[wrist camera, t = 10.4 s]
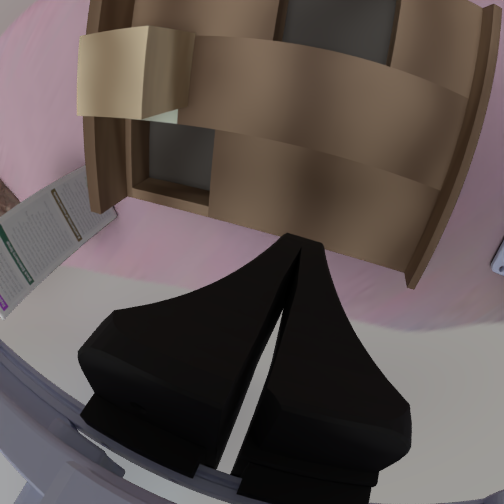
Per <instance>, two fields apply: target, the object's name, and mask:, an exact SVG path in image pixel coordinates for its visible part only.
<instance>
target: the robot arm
mask: <svg viewBox="0 0 504 504" xmlns="http://www.w3.org/2000/svg"><path fill="white" fill-rule="evenodd" d="M501 266H502V268H500V267H501ZM499 268H500V269H499ZM491 269H492V271H493V272H495V273H498V274H500V275H503V276H504V240H503V242H502V244H501V246H500V248H499V250H498V252H497V254H496V256H495V258H494V259H493V261H492V263H491ZM282 310H283V313H282V318H281V323H280V327H279V332H278V337H277V341H276V345H275V349H274V354H273V358H272V362H271V366H270V369H269V372H268V376H267V378H266V381H265V384H264V387H263V390H262V392H261V395H260V398H259V401H258V404H257V406H256V409H255V412H254V415H253V417H252V420H251V423H250V425H249V428H248V431H247V433H246V436H245V438H244V441H243V444H242V446H241V449H240V451H239V454H238V456H237V459H236V461H235V464H234V467H233V469H232V471H231V474H230V475H229V474H226V473H224V472H221V471H218V470H216V469H217V467H218V464H219V462H220V460H221V457H222V455H223V452H224V450H225V447H226V444H227V442H228V439H229V437H230V434H231V432H232V429H233V427H234V424H235V422H236V419H237V416H238V414H239V411H240V409H241V406H242V403H243V401H244V398H245V395H246V393H247V390H248V388H249V385H250V382H251V380H252V377H253V374H254V371H255V369H256V366H257V364H258V361H259V359H260V357H261V355H262V353H263V351H264V349H265V346H266V344H267V342H268V340H269V338H270V336H271V334H272V332H273V329H274V327H275V325H276V323H277V321H278V319H279V317H280V314H281V312H282ZM78 361H79V364H80V366H81V369H82V371H83V372H84V375H85V376H86V378H87V380H88V382H89V383H90V385H91V387H92V389H93V390H94V392H95V393H94V394H93V396H92V397H91V399H90V400H89V402H88V403H87V405H86V406H85V405H84V404H82V403H81V402H79V401H77V400H76V399H75V398H73V397H72V396H70V395H68V394H67V393H66V392H64V391H63V390H62V389H60V388H59V387H57V386H56V385H55V384H53V383H52V382H51V381H49V380H48V379H47V378H45V377H44V376H43V375H42V374H40V373H39V372H38V371H36V370H35V369H34V368H33V367H31V366H30V365H29V364H28V363H26V362H25V361H24V360H23V359H22V358H21V357H20V356H18V355H17V354H16V353H15V352H14V351H13V350H12V349H10V348H9V347H8V346H7V345H6V344H5V343H4V342H3V341H2V340H1V339H0V451H1V453H2V454H3V455H4V457H5V458H6V459H7V460H8V461H9V462H10V463H11V465H12V466H13V467H14V468H15V469H16V470H17V471H18V472H19V473H20V474H21V475H22V476H23V477H24V478H25V479H26V480H27V483H26V484H25V486H24V487H23V489H22V491H21V493H20V494H19V496H18V498H17V499H16V501H15V502H14V504H176V503H174V502H171V501H169V500H167V499H165V498H162V497H160V496H158V495H156V494H153V493H151V492H149V491H147V490H145V489H143V488H141V487H139V486H137V485H135V484H133V483H131V482H129V481H127V480H125V479H123V476H124V474H125V470H124V469H123V468H122V467H120V466H119V465H117V464H116V463H115V462H113V460H111V459H110V458H109V457H108V456H107V455H106V453H105V451H104V450H102V449H100V448H99V447H98V446H96V445H95V444H93V443H92V442H91V441H89V440H88V439H87V438H85V437H84V436H83V435H81V434H80V433H79V432H78V430H79V431H81V432H82V433H84V434H85V435H87V436H88V437H90V438H91V439H93V440H94V441H96V442H98V443H99V444H101V445H102V446H104V447H106V448H107V449H109V450H111V451H113V452H114V453H116V454H118V455H120V456H121V457H123V458H125V459H127V460H129V461H130V462H132V463H134V464H136V465H138V466H140V467H142V468H144V469H146V470H148V471H150V472H152V473H154V474H156V475H159V476H161V477H163V478H165V479H167V480H169V481H172V482H174V483H177V484H179V485H181V486H184V487H186V488H189V489H191V490H194V491H196V492H199V493H202V494H204V495H207V496H210V497H213V498H216V499H219V500H221V501H225V502H228V503H231V504H377V503H369V498H370V492H371V487H374V486H376V484H377V482H378V475H379V471H381V470H383V469H384V468H386V467H388V466H390V465H392V464H394V463H395V462H397V461H399V460H400V459H401V458H402V457H404V456H405V455H406V454H407V453H408V452H409V450H410V448H411V433H412V422H411V415H410V414H411V413H410V405H409V403H408V402H407V401H406V400H405V399H404V398H403V397H402V396H401V394H400V393H399V392H398V391H397V390H396V389H395V388H394V386H393V385H392V384H391V383H390V382H389V381H388V380H387V378H386V377H385V376H384V374H383V373H382V372H381V371H380V369H379V368H378V367H377V366H376V364H375V363H374V361H373V360H372V358H371V357H370V355H369V354H368V352H367V351H366V349H365V348H364V346H363V345H362V343H361V341H360V340H359V338H358V337H357V335H356V333H355V332H354V330H353V328H352V326H351V324H350V322H349V320H348V318H347V316H346V314H345V312H344V309H343V307H342V305H341V302H340V300H339V297H338V295H337V292H336V290H335V287H334V284H333V281H332V278H331V275H330V271H329V268H328V264H327V260H326V255H325V249H324V245H323V244H322V243H321V242H317V241H314V240H311V239H307V238H304V237H301V236H297V235H294V234H290V233H285V234H283V235H282V236H281V237H280V238H279V239H278V240H277V241H276V242H275V243H274V244H273V245H272V246H270V247H269V248H268V249H267V250H266V251H264V252H263V253H262V254H260V255H259V256H258V257H256V258H255V259H254V260H252V261H251V262H249V263H247V264H246V265H244V266H243V267H241V268H240V269H238V270H237V271H235V272H233V273H231V274H230V275H228V276H226V277H224V278H222V279H220V280H218V281H216V282H214V283H212V284H210V285H207V286H205V287H203V288H200V289H198V290H195V291H193V292H190V293H187V294H184V295H181V296H178V297H175V298H171V299H168V300H164V301H160V302H157V303H152V304H148V305H142V306H137V307H132V308H126V309H120V310H114V311H113V312H112V313H111V314H110V315H109V316H108V317H107V318H106V319H105V320H104V321H103V322H102V323H101V324H100V325H99V327H98V328H97V329H96V330H95V331H94V332H93V334H92V335H91V336H90V337H89V338H88V340H87V341H86V342H85V343H84V344H83V346H82V347H81V348H80V349H79V351H78ZM77 429H78V430H77ZM378 504H379V503H378ZM438 504H504V490H501V491H498V492H496V493H494V494H492V495H489V496H487V497H486V498H484V499H478V500H471V501H463V502H452V503H438Z"/></svg>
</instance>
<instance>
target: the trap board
mask: <svg viewBox="0 0 504 504" xmlns="http://www.w3.org/2000/svg"><path fill="white" fill-rule="evenodd" d="M501 17H502V8H500V7H499V6H497V5H495V4H492V5H489V6H487V7H485V8H481V7H479V6H478V5H476V4H474V3H472V2H470V1H468V0H90V6H89V13H88V21H87V30H86V35H88V34H93V33H98V32H104V31H110V30H117V29H124V28H131V27H140V26H155V27H162V28H169V29H175V30H181V31H186V32H191V33H196V34H195V42H194V50H193V58H192V66H191V75H190V85H189V95H188V106H187V107H184V108H180V109H176V110H173V111H169V112H165V113H162V114H158V115H155V116H152V117H148V118H145V119H142V120H139V119H127V118H114V117H96V116H83V132H84V151H85V164H86V175H87V185H88V194H89V202H90V209H91V212H94V213H98V214H103V213H104V212H105V211H107V210H108V209H110V208H111V207H112V206H114V205H115V204H117V203H118V202H120V201H121V200H123V199H124V198H126V197H127V196H128V197H132V198H136V199H140V200H144V201H148V202H152V203H156V204H160V205H164V206H168V207H172V208H176V209H180V210H184V211H187V212H191V213H195V214H199V215H203V216H206V217H210V218H214V219H218V220H222V221H225V222H229V223H233V224H236V225H240V226H244V227H248V228H251V229H255V230H258V231H262V232H266V233H269V234H273V235H277V236H280V237H281V236H282V235H283V234H285V233H290V234H294V235H297V236H301V237H304V238H307V239H311V240H314V241H317V242H321V243H322V244H323V245H324V249H326V250H330V251H333V252H336V253H340V254H343V255H347V256H350V257H354V258H357V259H360V260H364V261H367V262H370V263H374V264H377V265H380V266H384V267H387V268H390V269H394V270H397V271H400V272H404V274H405V279H406V285H407V288H410V289H415V287H416V285H417V283H418V282H419V280H420V278H421V276H422V274H423V272H424V270H425V269H426V267H427V265H428V263H429V261H430V259H431V257H432V255H433V253H434V251H435V249H436V247H437V245H438V242H439V240H440V238H441V236H442V234H443V232H444V230H445V227H446V225H447V223H448V221H449V218H450V216H451V214H452V211H453V209H454V207H455V204H456V202H457V199H458V197H459V194H460V192H461V189H462V186H463V184H464V181H465V178H466V176H467V173H468V170H469V167H470V164H471V161H472V158H473V155H474V152H475V149H476V146H477V143H478V139H479V136H480V133H481V129H482V125H483V122H484V118H485V114H486V110H487V106H488V102H489V98H490V93H491V88H492V83H493V78H494V73H495V67H496V61H497V54H498V47H499V39H500V29H501Z"/></svg>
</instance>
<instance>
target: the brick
mask: <svg viewBox="0 0 504 504" xmlns="http://www.w3.org/2000/svg"><path fill="white" fill-rule="evenodd" d="M19 203H20V202H19V200H18V199H17V198H16V197H15V195H14V194H13V193H12V192H11V191H10V190H9V189H8V188H7V187H6V186H5V185H4V183H3V182H2V180H1V179H0V217H1V216H2V215H4V214H5V213H6V212H8V211H9V210H11V209H12V208H13V207H15V206H16V205H18V204H19Z"/></svg>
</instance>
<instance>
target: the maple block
mask: <svg viewBox="0 0 504 504" xmlns="http://www.w3.org/2000/svg"><path fill="white" fill-rule="evenodd" d="M195 34H196V33H191V32H186V31H181V30H175V29H169V28H162V27H155V26H140V27H131V28H124V29H117V30H110V31H104V32H98V33H93V34H88V35H83V36H80V40H79V52H78V70H77V116H96V117H114V118H127V119H139V120H142V119H145V118H148V117H152V116H155V115H158V114H162V113H165V112H169V111H173V110H176V109H180V108H184V107H187V106H188V95H189V85H190V75H191V66H192V58H193V50H194V42H195Z"/></svg>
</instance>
